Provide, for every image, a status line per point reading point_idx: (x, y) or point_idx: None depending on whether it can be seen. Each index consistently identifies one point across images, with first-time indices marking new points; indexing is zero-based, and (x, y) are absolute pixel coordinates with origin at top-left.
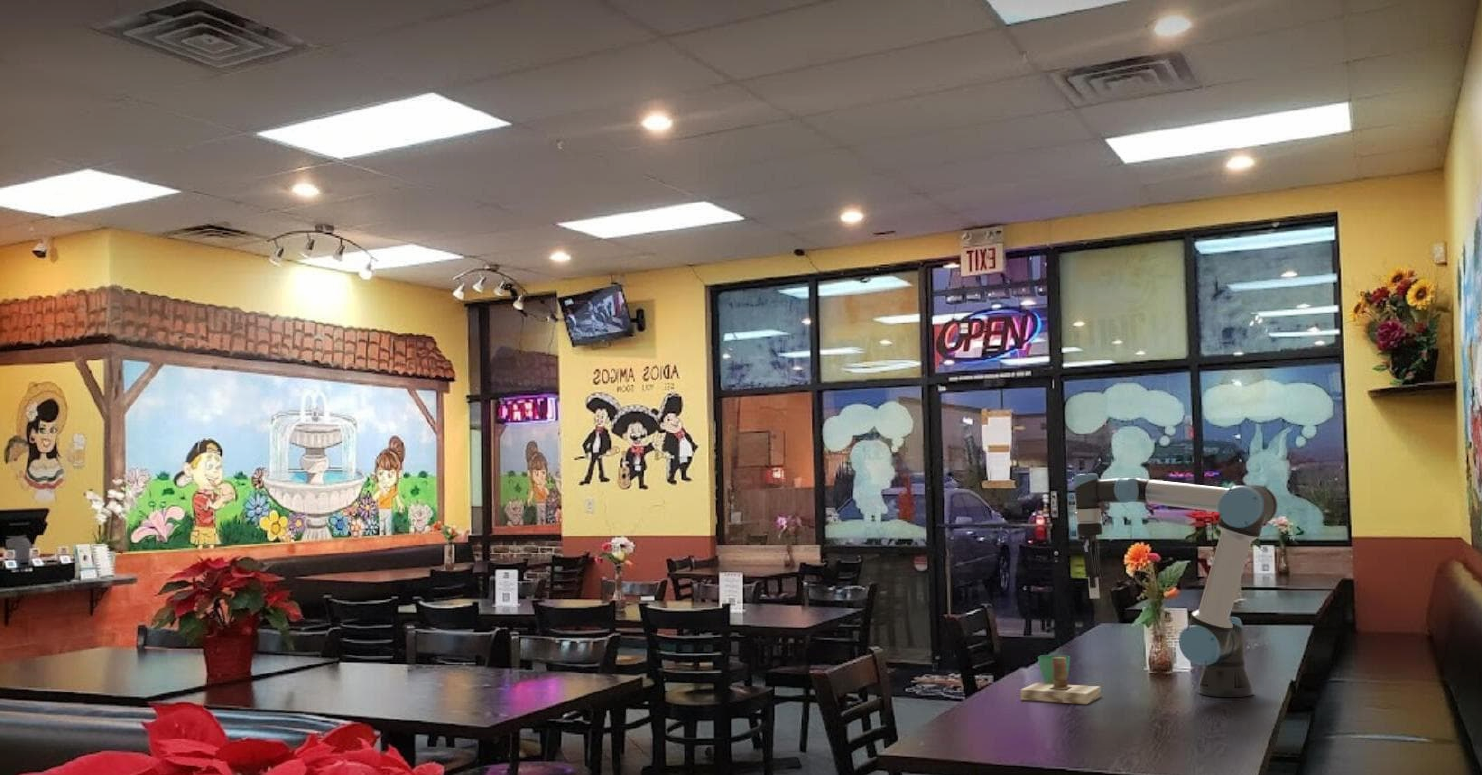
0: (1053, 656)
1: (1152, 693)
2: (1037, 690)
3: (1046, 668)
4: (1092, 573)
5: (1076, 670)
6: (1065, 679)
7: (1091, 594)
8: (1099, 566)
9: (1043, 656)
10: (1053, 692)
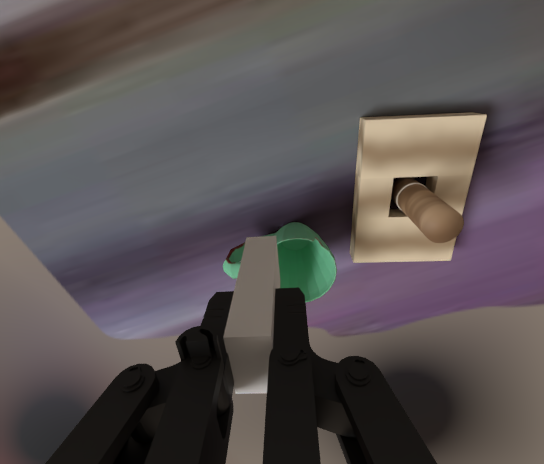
0: None
1: (267, 5)
2: None
3: (327, 266)
4: (383, 386)
5: (62, 272)
6: (428, 190)
7: (278, 284)
8: (62, 450)
9: None
10: (465, 194)
